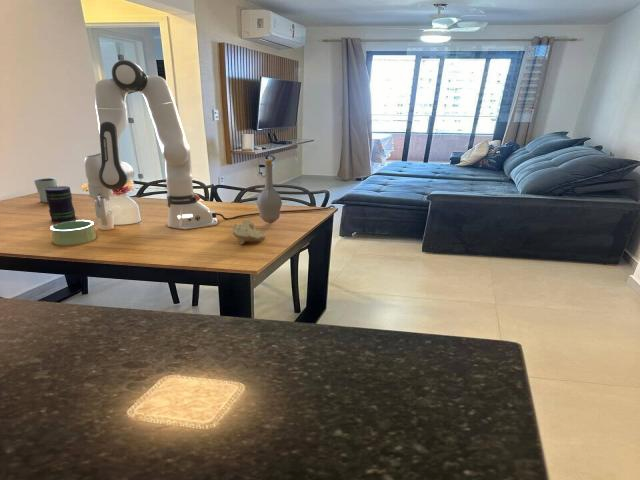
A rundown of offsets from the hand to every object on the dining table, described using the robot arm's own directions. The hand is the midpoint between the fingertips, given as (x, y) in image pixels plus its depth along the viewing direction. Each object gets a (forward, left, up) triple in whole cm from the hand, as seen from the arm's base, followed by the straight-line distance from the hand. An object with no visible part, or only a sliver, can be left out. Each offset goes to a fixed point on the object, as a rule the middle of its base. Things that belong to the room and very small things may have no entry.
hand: (105, 222), depth 168 cm
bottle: (-70, +16, -2) cm, 72 cm away
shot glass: (0, 0, -2) cm, 2 cm away
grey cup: (+35, -67, -2) cm, 76 cm away
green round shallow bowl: (+10, +14, -2) cm, 17 cm away
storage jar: (+20, -21, -2) cm, 29 cm away
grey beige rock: (-54, +41, -2) cm, 68 cm away
